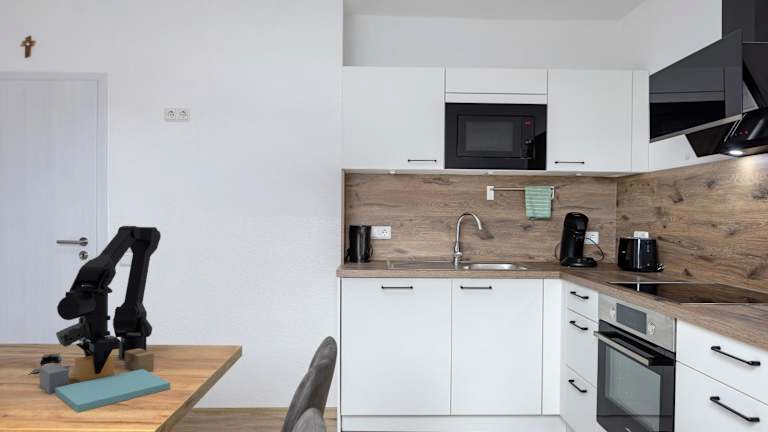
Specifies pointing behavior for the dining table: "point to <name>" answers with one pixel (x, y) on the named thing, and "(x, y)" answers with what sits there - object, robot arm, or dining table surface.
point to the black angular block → (49, 361)
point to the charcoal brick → (53, 377)
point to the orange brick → (92, 368)
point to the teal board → (110, 389)
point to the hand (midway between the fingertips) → (94, 371)
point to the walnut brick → (139, 360)
